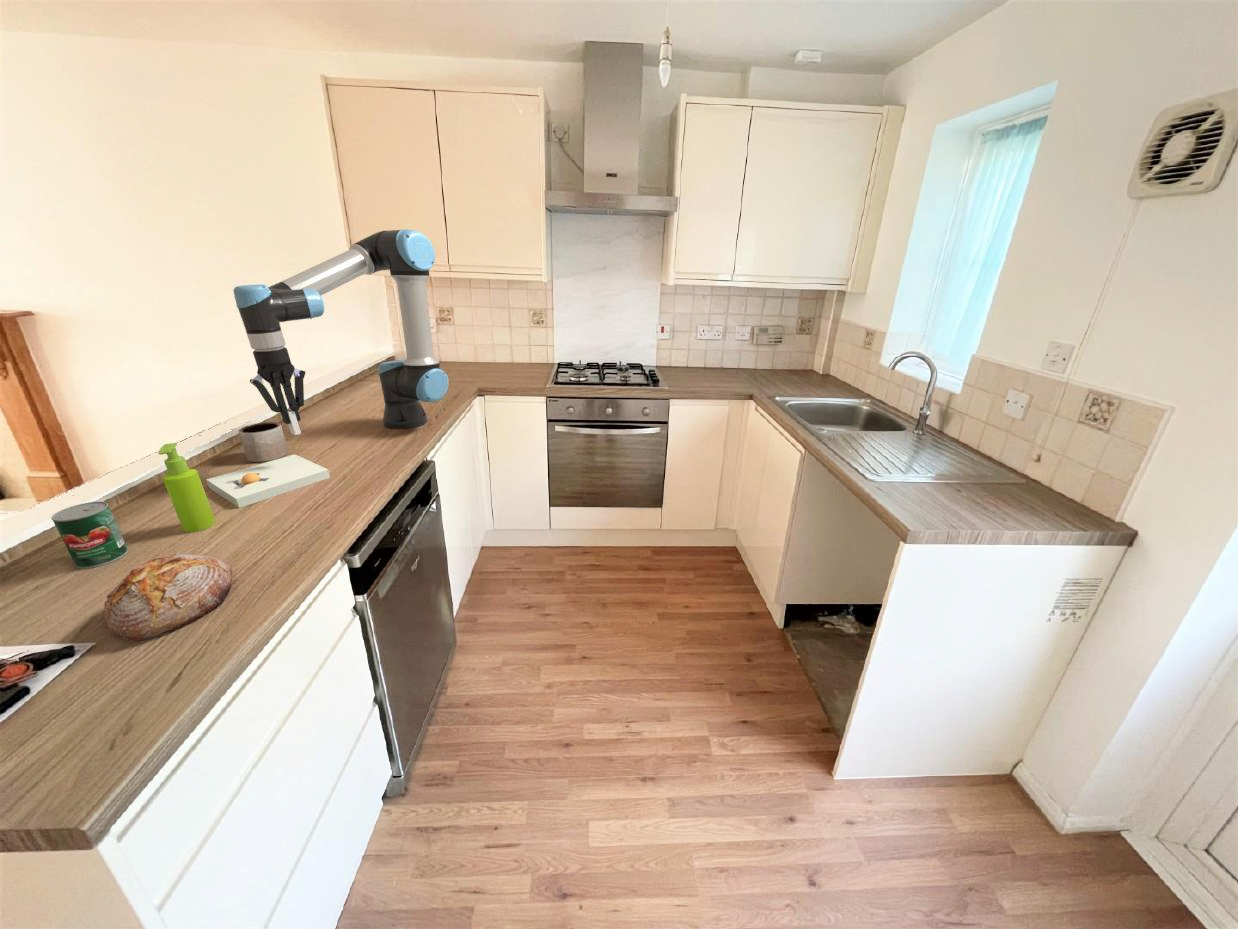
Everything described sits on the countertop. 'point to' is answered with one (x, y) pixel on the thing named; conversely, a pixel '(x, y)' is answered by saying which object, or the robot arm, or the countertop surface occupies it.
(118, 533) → the canned tomato
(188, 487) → the soap dispenser
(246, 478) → the ball
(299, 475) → the plate
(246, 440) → the planter
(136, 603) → the bread
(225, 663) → the countertop surface
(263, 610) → the countertop surface
